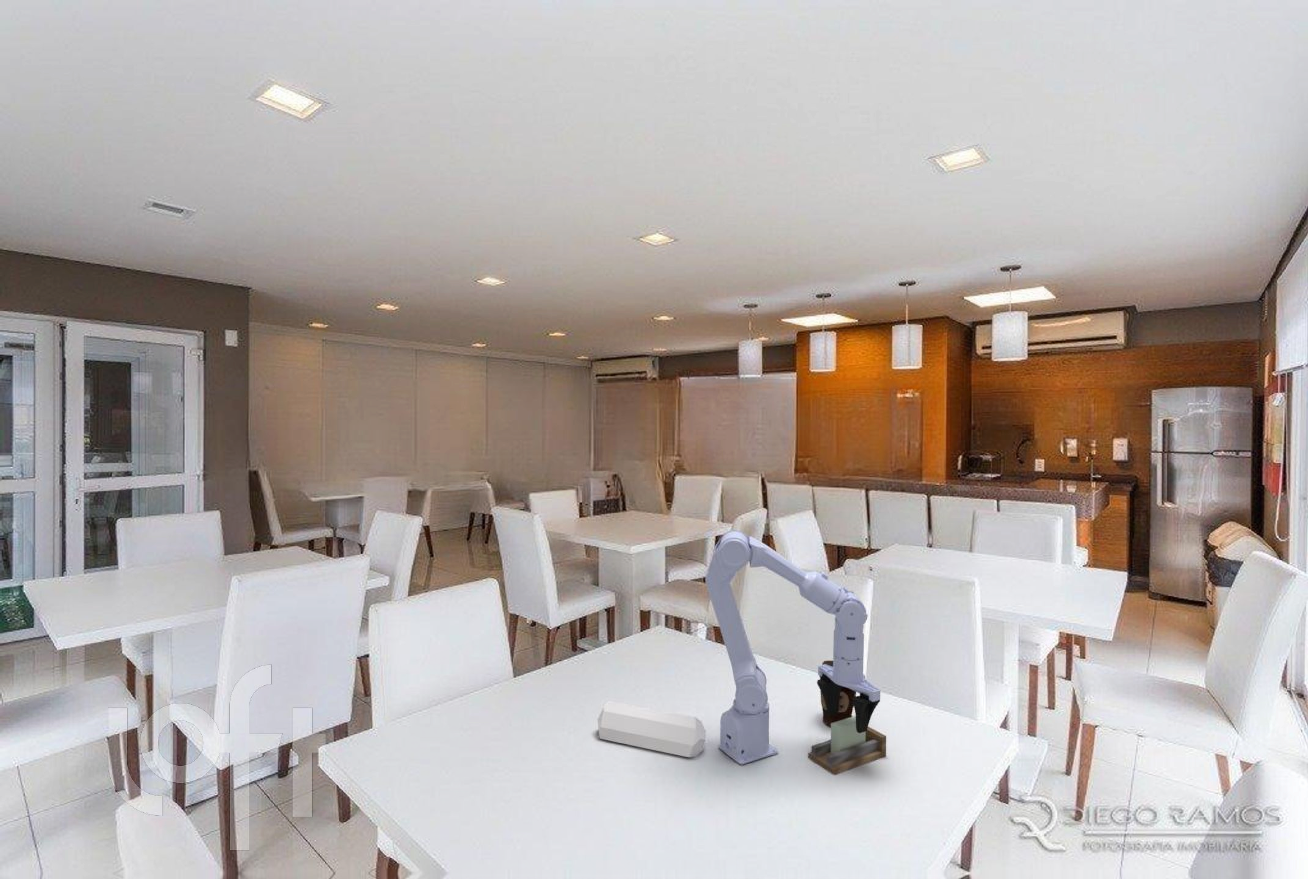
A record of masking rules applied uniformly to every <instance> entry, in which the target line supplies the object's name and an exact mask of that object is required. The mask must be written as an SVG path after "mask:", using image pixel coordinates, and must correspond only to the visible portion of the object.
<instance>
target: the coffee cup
mask: <svg viewBox="0 0 1308 879" xmlns="http://www.w3.org/2000/svg"><path fill="white" fill-rule="evenodd" d="M824 664H826V665H828V666H831V667H833V660H824V661H822V664H821V665H824ZM821 678H822V676H819V680H820V679H821ZM819 690H820V689H819ZM856 696H857V692H856V691H854V690H852V689H850V688H847V687H844V686H842V688H841V692H840V699H839V711H838V715H836V716H832V717H830V716H828V713H827V708H826V704H825V700H824V697H823V694H822V692H821V690H820V704H821V710H822V721H823V723H824V724H826V725H827V726H830V727H831V723H834V722H837V721H840V720H843V719H847V718H850V717H853V711H854V705H853V702H852V697H856Z"/></svg>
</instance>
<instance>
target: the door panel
mask: <svg viewBox="0 0 1308 879" xmlns="http://www.w3.org/2000/svg"><path fill="white" fill-rule="evenodd" d="M830 740H831V754H833V753H836V752H839V751H842V750H845V749H848V748H851V747H854V746H857V745H859V744H862V743H865V740H866V732H862V733H858V732H857V730H856V715H852V717H850V718H847V719H843V720H840V721H837V722H834V723H831V726H830Z"/></svg>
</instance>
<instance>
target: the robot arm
mask: <svg viewBox="0 0 1308 879" xmlns="http://www.w3.org/2000/svg"><path fill="white" fill-rule="evenodd" d="M748 563H749V568H761V567H763V568H766V569H768V570H770V571H771V572H773V573H774V574H777V575H778V576H779V577H781V578H782V579H785V580H787V581H788V582H790V583H792V584H794V585H795V586H797V587H798V589H799V590H798V591H799V594H800V596H801V597H802V598H803V599H805V600H807V601H808V602H810V603H812V604H813V605H815V606H816V607H817V608H819V609H821V610H822V611H823V612H825V613H827V614H831V615H834V616H835V617H834V629H833V653H832V654H833V655H832V656H833V657H832V659H833V660H832V661H833V667H831V666H828V665H826V664H824V665H822V664H820V665H818V667H817V668H818V669H817V671H818V673H817V676H819V677H820V676H822V678H821V679H820V678H819V679H817V681H816V685H817V687H818V688H819V690H821V692H822V694H823V697H824V700H825V704H826V708H827V713H828V716H830V717H832V716H836V715H838V711H839V699H840V692H841V688H842V686H844V687H847V688H850V689H852V690H854V691H856V693H857V694H859V695H856V697H852V702H853V705H854V707H853V710H854V714H855V715H854V716H856V730H857V732H858V733H862V732H866V731H867V728H868V727H869V724H870V720H871V717H872V715H873V713H874V711H875V709H876V708H877V706H878V705H879V703H880V702H881V689H879V688H877V687H876V686H874V685H873V684H872V683H871V682H870V681H868V680H867V679H866V674H865V673H864V658H865V657H864V656H865V655H864V654H865V653H864V649H865V645H864V644H865V642H864V641H865V634H864V628H865V623H866V622H867V620H868V616H869V615H868V614H867V609H866V607H865V605H864V603H863V602H862V599H860V597H859V596H858V595H856V593H854V591H853V590H849V589H848V588H847V587H846V586H843V587H841V586H840V585H838V584H837V583H835V582H834V581H832V580H831V579H829V575H828V574H827V573H826V572H824V571H822V572H818V571H816V570H813V571H808V572H807V571H804V570H803V569H802V568H800V567H799V566H797V565H796V564H794V563H793V562H792V561H790V560H789V559H787V558H785V557H784V556H783V555H781V554H780V553H778V552H777V551H775V550H774V549H772V548H771V547H770V546H768V545H767V544H766V543H763V542H762V541H760V540H758V539H757V538H755V537H753V536H751V535H749V536H748V535H747V534H746V533H745V532H744V531H742V530H740V529H730V530H728V531H725V533H723V535H722V536H721V537H720V539H719V540H718V542H717V543H716V544H715V546H714V550H713V554H712V555H711V560H710V563H709V565H708V568H707V573H706V576H705V579H704V580H705V586H706V589H707V591H708V594H709V598H710V601H711V604H712V608H713V611H714V615H715V617H716V620H717V623H718V627H719V630H720V634H721V636H722V639H723V642H724V645H725V648H726V652H727V655H728V659H729V661H730V664H731V669H732V674H733V681H734V684H735V694H734V695H735V696H734V699H733V703H732V706H731V707H730V708H729V709H728V710H726V711H723V713H721V716H720V724H719V725H720V726H719V727H720V735H719V736H720V738H719V739H720V742H719V744H718V745H717V748H719V749H720V750H721V751H722V752H723V753H725V754H726V755H728V756H729V757H730V758H731V759H733V761H736V763H738V764H739V765H745V764H749V763H752V762H755V761H757V760H760V759H763V758H767V757H770V756H773V755H776V754H778V753H779V750H778V749H777V748H776V747H775V746H772V745H771V744H770V704H769V702H768V700H769V699H768V698H769V697H768V693H767V677H766V674H765V673H764V671H763V670H762V669H761V668H760V667H759V665H758V663H757V661H756V657H755V656H754V654H753V651H752V648H751V645H750V642H749V641H750V640H748V635H747V633H746V629H745V626H744V623H743V619H742V617H741V613H740V610H739V607H738V604H737V601H736V597H735V595H734V590H733V588H732V585H731V582H732V581H733V579H734V577H735V575H736V573H738V572H739V571H740V570H742V569H743V568H744V567H745V566H746V565H748Z"/></svg>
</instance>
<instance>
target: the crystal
mask: <svg viewBox="0 0 1308 879" xmlns="http://www.w3.org/2000/svg"><path fill="white" fill-rule="evenodd" d="M597 723H598V725H597V726H598V727H597V728H598V735H599V739H602V740H605V741H609V742H615V743H620V744H626V745H629V746H634V747H638V748H643V749H646V750H647V749H648V750H654V751H657V752H661V753H667V754H671V755H676V756H681V757H686V758H695V757H697V756H699V754H700V753H701V752H702V751H703V750H704V748H705V744H706V739H707V730H706V728H705V725H704V724H703V721H702V720H700V719H699V718H697V717H696V716H690V715H687V714H680V713H675V712H670V711H665V710H659V709H653V708H648V707H642V706H638V705H632V704H628V703H622V702H621V703H620V702H616V701H611V700H608V701H607V702H606V703H605V704H604V705H603V708H602V709H601V711H600V714H599V715H598V717H597Z"/></svg>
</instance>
